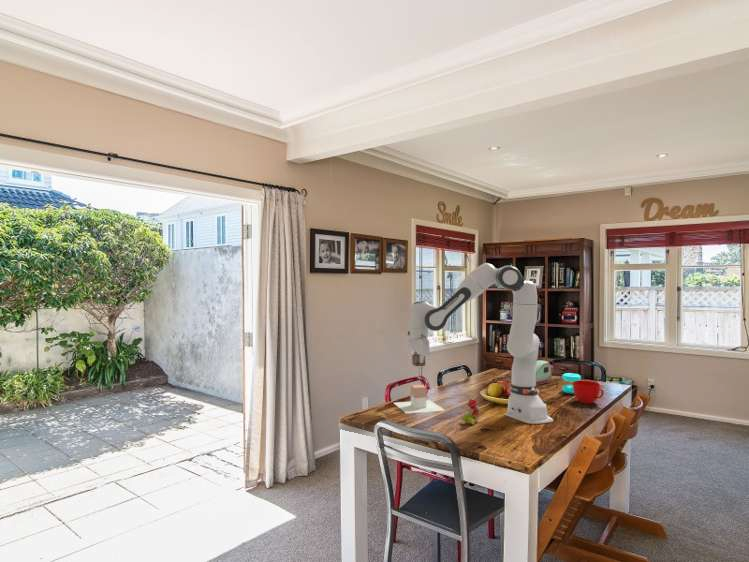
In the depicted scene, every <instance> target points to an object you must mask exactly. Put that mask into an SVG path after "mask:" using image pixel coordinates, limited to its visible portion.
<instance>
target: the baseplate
mask: <svg viewBox="0 0 749 562" xmlns="http://www.w3.org/2000/svg"><path fill="white" fill-rule="evenodd" d="M393 404H394V405H395V406H396V407H398V408H399V409H400V410H401V411H402V412H404V413H405V414H406V415H407V414H415V413H429V412H443V411H446V409H444V408H443V407H441V406H440V405H438V404H436V403H435V402H433V401H432V400H430V399H426V408H414V407H412V406H411V400H409V401H399V402H398V401H397V402H393Z"/></svg>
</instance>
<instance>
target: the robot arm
mask: <svg viewBox="0 0 749 562" xmlns="http://www.w3.org/2000/svg"><path fill="white" fill-rule="evenodd" d="M495 284H496V285H498V286H499V287H501V288H502V289H505V290H510V291H511V292H512V296H513V300H512V319H511V320H512V321H511V326H510V330H509V336H508V340H507V343H506V350H507V352H508V353H509V354H510V355H511V356H512V357H514V358H513V361H512V365H511V383H510V386H509V388H510V389H509V390H510V395H509V397H508V400H507V402H508V403H507V411H506V412H505V416H506V417H509V418H511V419H514V420H517V421H519V422H522V423H525V424H529V425H530V424H533V425H535V424H536V425H537V424H538V425H540V424H548V423H552V422H554V419H553V418H552V417H551V416H549V415H548V408H547V407H548V406H547V404H546V403H544V401H543V400H542V399H541V397H540V396H539V392H540V391H539V390H540V389H539V388H538V387H537V386H538V385H536V363H537V361H538V357H539V356H538V355H539V347H540V342H541V341H540V338H539V336H538V335H537V334H536V333H535V328H536V324H537V321H538V320H537V319H538V291H537V285H536V284H535V283H534V282H533V281H531V280H526V279H525V278H524V277H523V275H522V273H521V271H520V270H519V269H518V268H517V267H516V266H513V265H504V266H502V267H495V266H494V265H493V264H491V263H489V262H484V263H482V264H480V265H479V266H477V267H476V268H475V269H473V270H472V271H471V272H469V274H468V275H466V276H465V277H464V278H463V279H462V281H461V282H460V284H459V285H458V287H457V289H456V291H455V292H454V293H453V294H452V295H451V296H450V297H449V298H448V299H447V300H445V302H444V303H443V304H441V305H440V306H438V307H436V306H434V305H432V304H430V303H429V302H428V301H426V300H422V301H421V300H420V301H415V302H414V303H412V305H411V307H410V313H409V315H410V317H409V319H410V327H409V328H410V329H409V330H407V336H408V338H407V339H408V348H409V350H410V351H412V352H413V354H420V359H419V362H420V363H423V359H424V356H425V357H426V356H429V355H430V353H431V351H430V341H429V339H428V338H429V330H431V331H433V332H438V331H441V330H442V329H444V327H445V326H446V324H447V321H448V319H449V318H450V317H451V316H452V315H453V314H454V313H455V312H456V311H457V310H458V309H459V308H460V307H462V306H463V305H464V304H466V303H468V302H470V301H472V300H473V299H476V298H477V297H479V296H480V295H482V294H483V293H484V292H485V291H486V290H487V289H489V287H491V286H492V285H495Z"/></svg>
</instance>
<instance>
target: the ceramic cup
mask: <svg viewBox="0 0 749 562" xmlns="http://www.w3.org/2000/svg"><path fill="white" fill-rule="evenodd" d="M572 385H573V390H574V396H575V398H576V399H577V400H578V401H579V403H581V404H587V405H588V404H590V405H591V404H592V405H593V403H594V402H595V401H596V400H598V399H601V398H602V397H603V396H604V390H603V389H602V388H601V384H600V383H599V382H596V381H592V380H580V381H574V382H572Z"/></svg>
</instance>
